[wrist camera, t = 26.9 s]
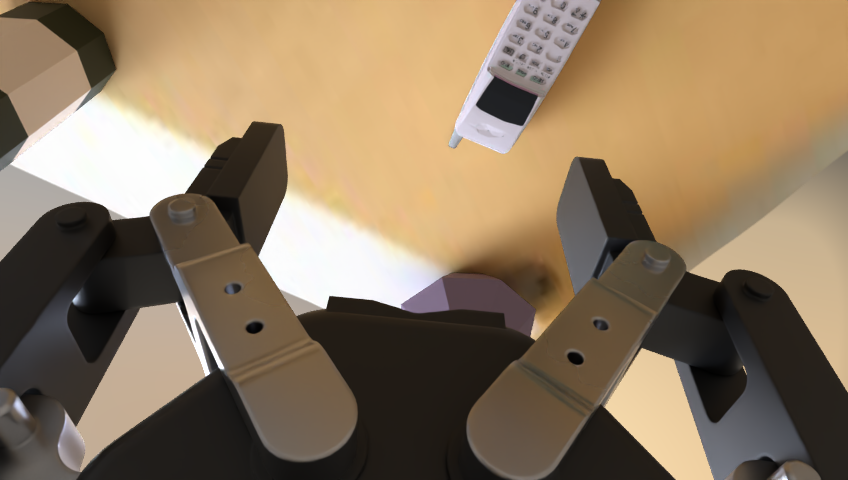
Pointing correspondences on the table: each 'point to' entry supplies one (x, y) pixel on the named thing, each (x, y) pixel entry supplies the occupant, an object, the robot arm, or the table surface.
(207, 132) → the table surface
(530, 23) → the mobile phone
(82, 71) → the wine bottle
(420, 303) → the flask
